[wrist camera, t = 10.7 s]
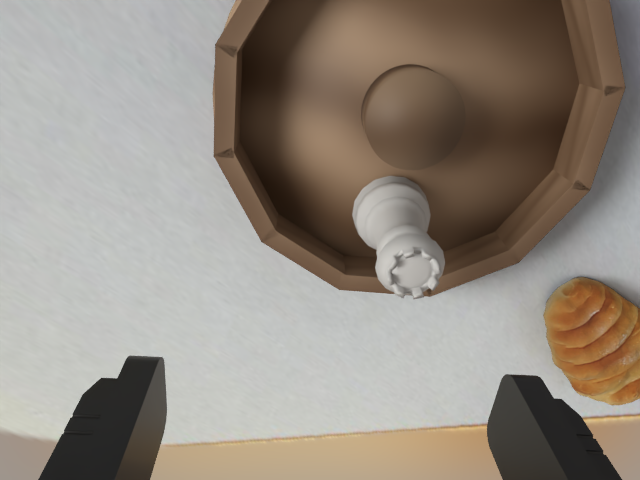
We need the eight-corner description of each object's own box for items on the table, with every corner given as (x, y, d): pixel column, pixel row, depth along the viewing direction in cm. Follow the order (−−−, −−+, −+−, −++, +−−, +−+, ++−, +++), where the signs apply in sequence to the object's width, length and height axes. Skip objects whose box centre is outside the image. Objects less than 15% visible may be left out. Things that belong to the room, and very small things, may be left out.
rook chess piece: (388, 157, 29) (414, 211, 22) (442, 205, 30) (484, 270, 23) (336, 213, 30) (344, 280, 23) (390, 256, 32) (413, 333, 24)
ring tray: (219, -143, 24) (205, -164, 21) (651, -87, 25) (701, -99, 22) (213, 259, 33) (203, 286, 29) (532, 283, 34) (555, 313, 31)
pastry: (511, 307, 35) (534, 341, 32) (601, 250, 33) (635, 279, 30) (575, 388, 38) (601, 427, 35) (659, 340, 37) (696, 376, 33)
